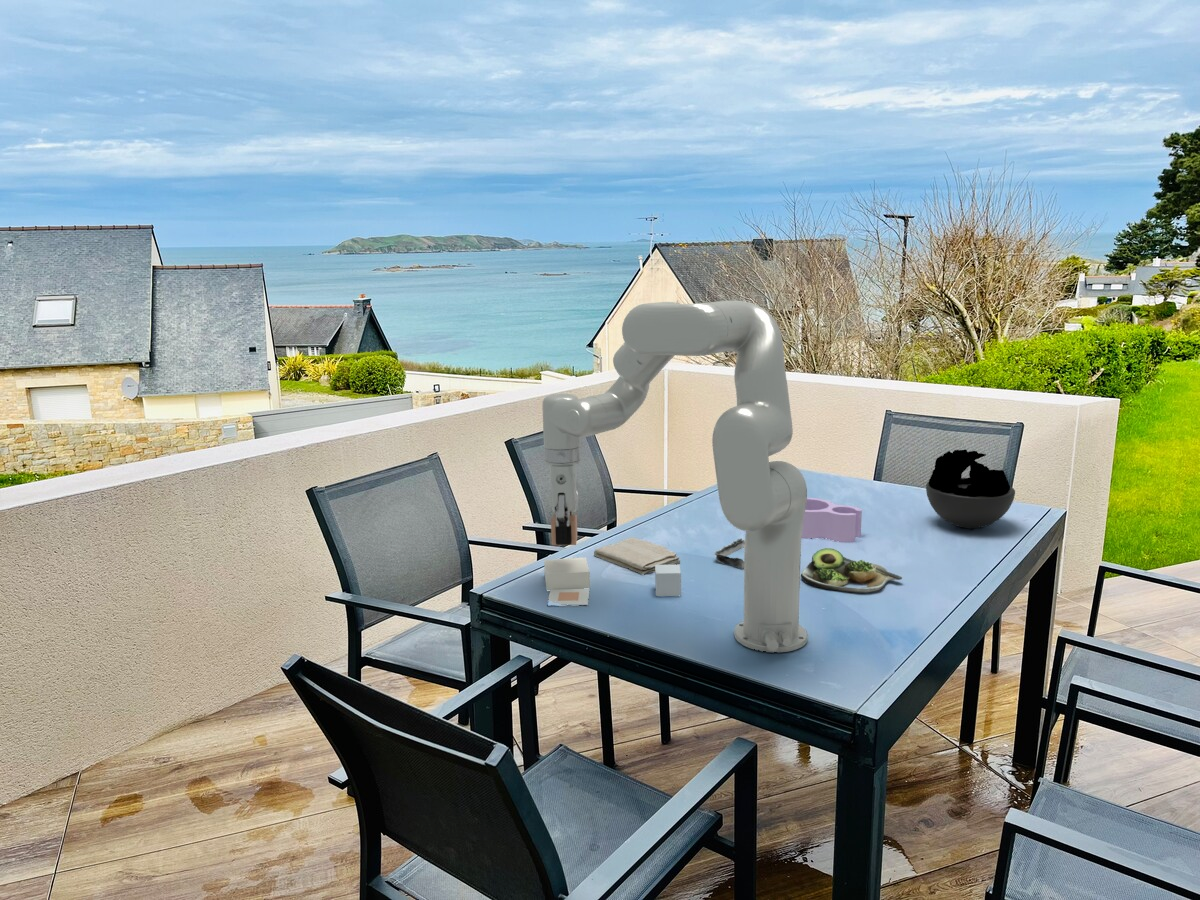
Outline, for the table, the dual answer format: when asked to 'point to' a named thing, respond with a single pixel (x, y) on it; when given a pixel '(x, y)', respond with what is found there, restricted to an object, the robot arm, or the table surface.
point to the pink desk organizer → (831, 521)
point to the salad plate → (844, 573)
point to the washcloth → (637, 555)
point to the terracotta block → (573, 529)
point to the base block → (567, 573)
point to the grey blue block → (668, 580)
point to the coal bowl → (968, 490)
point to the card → (569, 596)
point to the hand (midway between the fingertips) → (564, 538)
